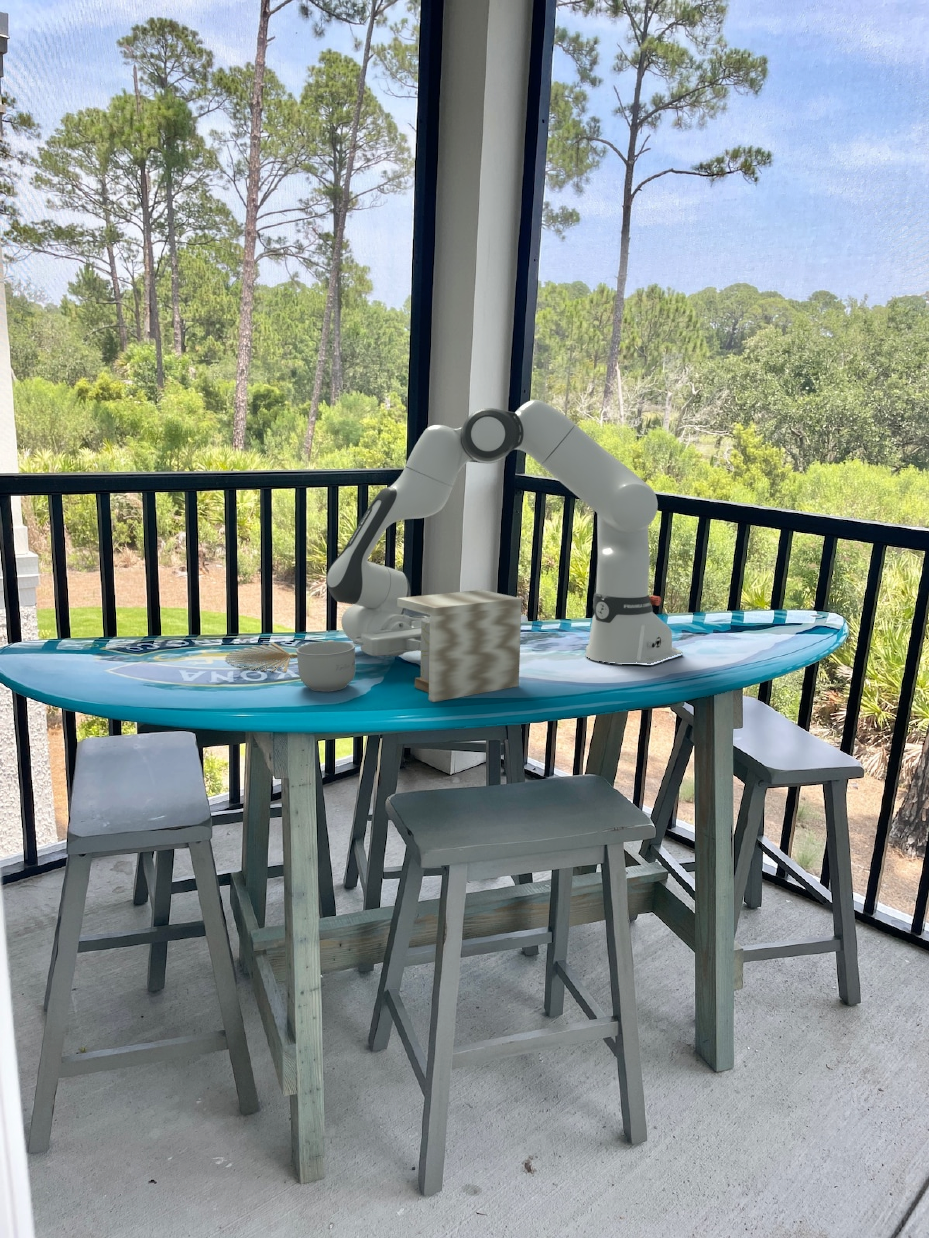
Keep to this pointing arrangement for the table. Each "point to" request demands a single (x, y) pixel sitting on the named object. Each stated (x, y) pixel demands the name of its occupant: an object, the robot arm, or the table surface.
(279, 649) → the hand fan
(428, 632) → the cup
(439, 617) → the marbled side table
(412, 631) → the robot arm
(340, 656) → the teacup
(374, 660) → the table surface
